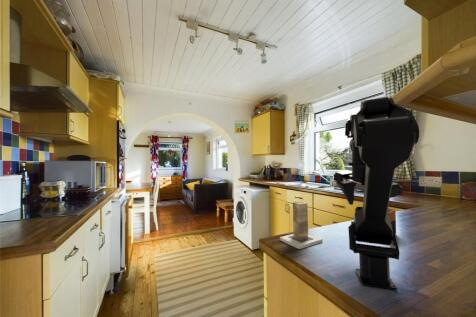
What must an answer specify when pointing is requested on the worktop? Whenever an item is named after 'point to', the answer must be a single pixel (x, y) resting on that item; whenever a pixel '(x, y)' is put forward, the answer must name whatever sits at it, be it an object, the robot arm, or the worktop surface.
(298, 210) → the wooden block
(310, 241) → the mat
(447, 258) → the worktop surface
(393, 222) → the battery
